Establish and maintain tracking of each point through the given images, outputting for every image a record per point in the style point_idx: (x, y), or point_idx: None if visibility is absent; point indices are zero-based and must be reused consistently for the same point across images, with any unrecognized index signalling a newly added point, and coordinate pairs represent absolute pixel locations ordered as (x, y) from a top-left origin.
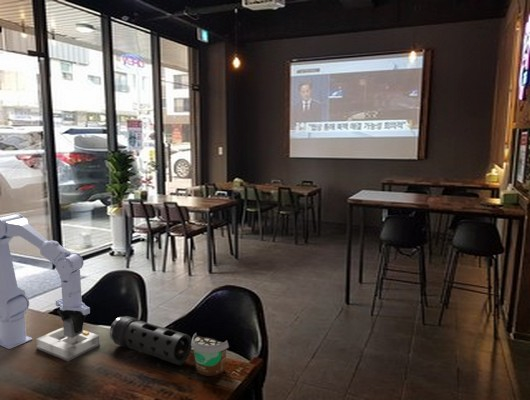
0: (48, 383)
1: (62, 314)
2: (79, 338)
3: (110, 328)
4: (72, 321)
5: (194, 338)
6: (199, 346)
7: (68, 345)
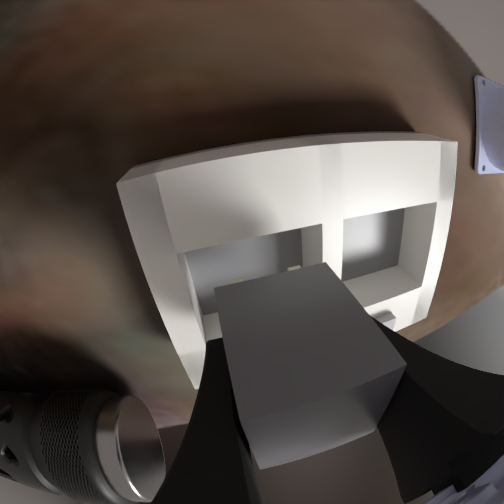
0: (17, 26)
1: (456, 423)
2: None
3: (114, 450)
4: (239, 449)
5: None
6: None
7: (204, 227)
